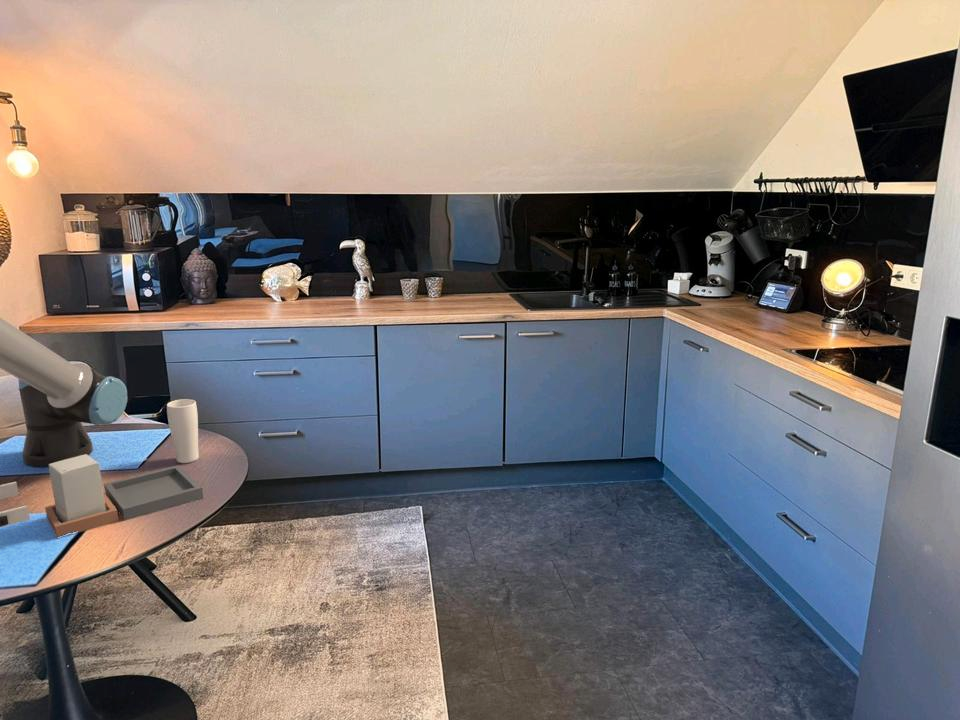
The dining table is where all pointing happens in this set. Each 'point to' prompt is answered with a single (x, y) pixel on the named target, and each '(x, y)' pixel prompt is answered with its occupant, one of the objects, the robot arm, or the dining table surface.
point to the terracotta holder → (82, 519)
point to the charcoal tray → (152, 491)
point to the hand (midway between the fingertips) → (23, 499)
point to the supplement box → (77, 488)
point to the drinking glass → (184, 429)
